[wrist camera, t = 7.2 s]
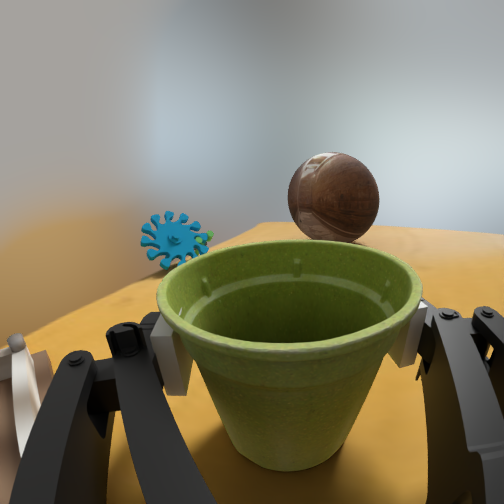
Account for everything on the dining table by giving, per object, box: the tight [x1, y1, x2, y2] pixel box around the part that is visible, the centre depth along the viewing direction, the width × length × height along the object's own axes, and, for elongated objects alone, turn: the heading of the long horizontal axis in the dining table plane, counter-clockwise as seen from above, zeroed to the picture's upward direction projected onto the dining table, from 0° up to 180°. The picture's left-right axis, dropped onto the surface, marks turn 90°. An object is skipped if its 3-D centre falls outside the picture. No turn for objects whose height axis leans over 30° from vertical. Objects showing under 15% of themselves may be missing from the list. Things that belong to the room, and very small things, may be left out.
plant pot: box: [157, 240, 423, 471], centre depth 11 cm, size 9×9×9 cm
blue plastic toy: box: [141, 211, 214, 270], centre depth 41 cm, size 11×6×10 cm
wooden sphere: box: [288, 152, 379, 243], centre depth 45 cm, size 15×15×15 cm
